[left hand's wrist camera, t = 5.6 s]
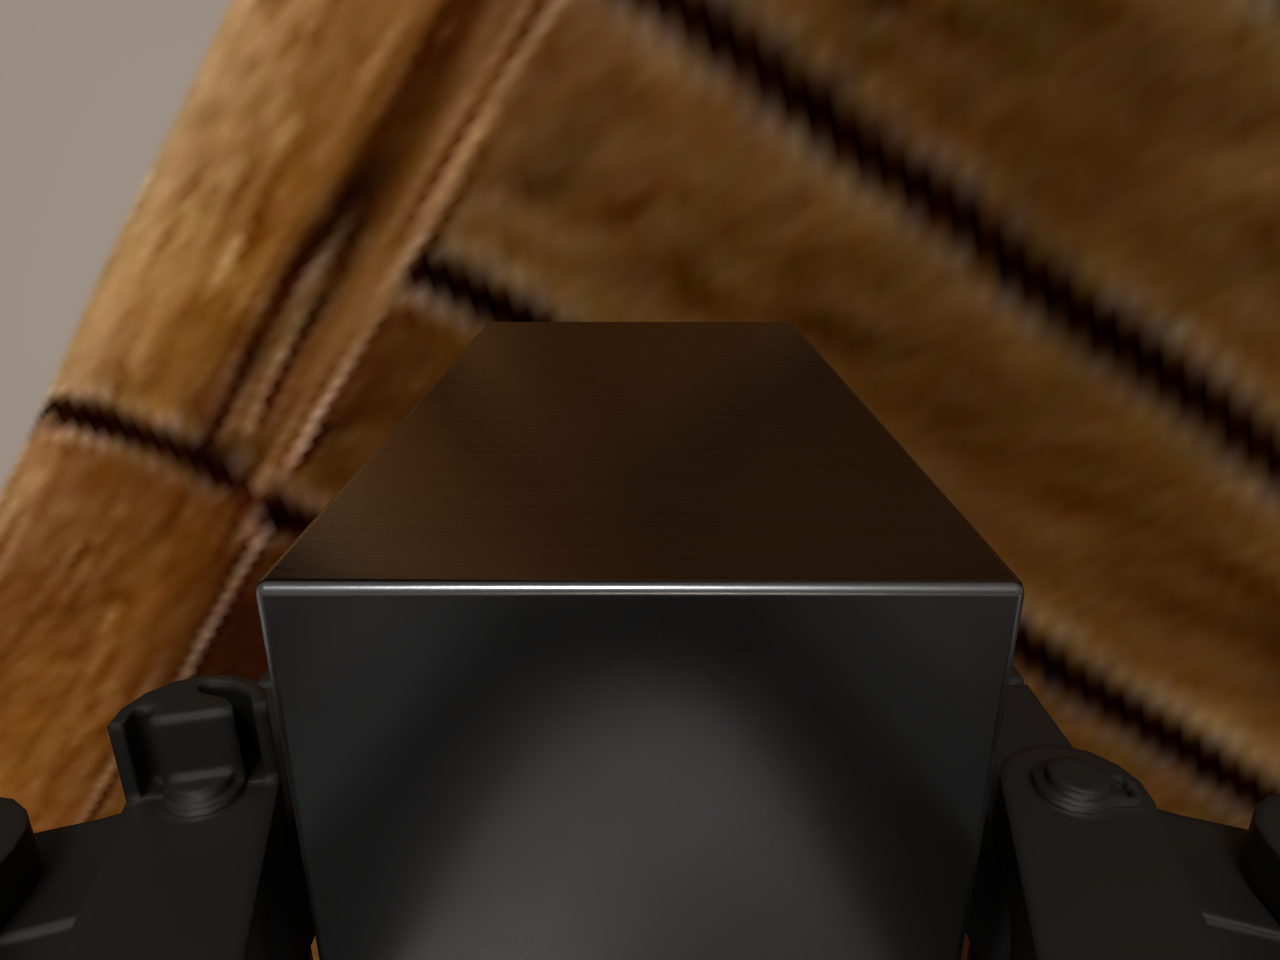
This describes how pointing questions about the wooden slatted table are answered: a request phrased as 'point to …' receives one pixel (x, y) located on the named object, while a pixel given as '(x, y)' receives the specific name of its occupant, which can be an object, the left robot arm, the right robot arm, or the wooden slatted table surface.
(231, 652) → the wooden slatted table surface
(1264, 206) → the wooden slatted table surface
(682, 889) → the bar
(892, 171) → the wooden slatted table surface
